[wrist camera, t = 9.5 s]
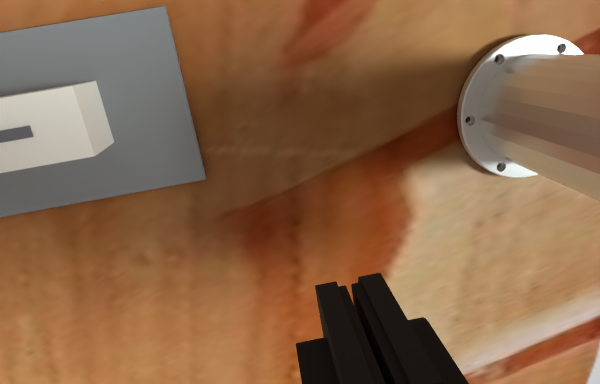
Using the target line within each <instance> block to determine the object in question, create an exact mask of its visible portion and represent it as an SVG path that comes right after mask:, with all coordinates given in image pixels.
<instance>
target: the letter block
mask: <svg viewBox="0 0 600 384" xmlns="http://www.w3.org/2000/svg"><path fill="white" fill-rule="evenodd" d="M113 143H114V140H113V136H112V133H111V130H110V126H109V123H108V120H107V116H106V113H105V110H104V106H103V103H102V99H101V96H100V93H99V89H98V86H97V83H96V81H91V82H85V83H79V84H74V85H68V86H62V87H56V88H50V89H44V90H38V91H33V92H27V93H21V94H15V95H9V96H3V97H0V173H5V172H10V171H16V170H21V169H27V168H32V167H38V166H44V165H49V164H55V163H60V162H66V161H72V160H77V159H83V158H88V157H94V156H96V155H97V154H99V153H100V152H102V151H103V150H104V149H106V148H107V147H109V146H110V145H111V144H113Z"/></svg>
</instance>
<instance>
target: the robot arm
mask: <svg viewBox="0 0 600 384" xmlns="http://www.w3.org/2000/svg"><path fill="white" fill-rule="evenodd" d="M495 56H496V61H494V59H495ZM467 117H468V120H467V121H466V122H465V120H466V118H467ZM457 126H458V131H459V136H460V139H461V141H462V144H463V146H464V148H465V150H466V151H467V153H468V154H469V155H470V157H471V158H472V159H473V160H474V161H475V162H476V163H477V164H478V165H480V166H481V167H483V168H485V169H486V170H488V171H490V172H492V173H494V174H496V175H499V176H504V177H509V178H526V177H531V176H536V175H539V174H540V175H542V176H544V177H547V178H549V179H551V180H554V181H556V182H558V183H560V184H563V185H565V186H567V187H569V188H572V189H574V190H576V191H578V192H581V193H583V194H585V195H587V196H590V197H592V198H594V199H596V200H599V201H600V55H597V54H584V53H583V52H582V51H581V50H580V49H579V48H578V47H577V46H576V45H574V44H573V43H571V42H570V41H568V40H566V39H563V38H561V37H558V36H555V35H548V34H529V35H523V36H518V37H515V38H513V39H510V40H507V41H505V42H503V43H501V44H500V45H498V46H496V47H495V48H493V49H492V50H491V51H489V52H488V53H487V54H486V55H485V56H484V57H483V58H482V59H481V60H480V61H479V62H478V63H477V65H476V66H475V67H474V68H473V70H472V71H471V73H470V74H469V76H468V78H467V80H466V81H465V83H464V86H463V89H462V91H461V94H460V97H459V103H458V108H457ZM497 165H498V166H497ZM315 288H316V295H317V301H318V307H319V313H320V318H321V324H322V330H323V336H324V338H320V339H315V340H310V341H305V342H300V343H296V348H297V355H298V361H299V367H300V374H301V380H302V384H469V383H468V382H467V380H466V379H465V377H464V376H463V374H462V373H461V371H460V370H459V368H458V367H457V365H456V363H455V362H454V360H453V359H452V357H451V356H450V354H449V353H448V351H447V350H446V348H445V347H444V345H443V344H442V342H441V341H440V339H439V337H438V336H437V334H436V333H435V331H434V330H433V328H432V327H431V325H430V324H429V322H428V321H427V320H426V318H423V317H422V318H417V319H412V320H407V318H406V316H405V315H404V313H403V311H402V309H401V308H400V306H399V304H398V303H397V301H396V299H395V297H394V296H393V294H392V292H391V291H390V289H389V287H388V285H387V284H386V282H385V280H384V279H383V277H382V275H381V274H380V273H376V274H371V275H366V276H361V277H359V278H358V283H355V284H352V294H353V301H354V305H353V302H352V300H351V297H350V295H349V292H348V290H347V287H346V286H340V287H338V285H337V282H331V283H326V284H321V285H316V286H315Z"/></svg>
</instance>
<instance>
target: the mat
mask: <svg viewBox="0 0 600 384" xmlns="http://www.w3.org/2000/svg"><path fill="white" fill-rule="evenodd" d="M91 81H96V83H97V86H98V89H99V93H100V96H101V99H102V103H103V106H104V110H105V113H106V116H107V120H108V123H109V126H110V130H111V133H112V136H113V140H114V143H113V144H111V145H110V146H109V147H107V148H106V149H104V150H103V151H102V152H100V153H99V154H97V155H96V156H94V157H88V158H83V159H77V160H72V161H66V162H60V163H55V164H49V165H44V166H38V167H32V168H27V169H21V170H16V171H10V172H5V173H0V217H5V216H10V215H16V214H21V213H27V212H32V211H38V210H43V209H48V208H54V207H59V206H65V205H70V204H76V203H81V202H86V201H92V200H97V199H103V198H108V197H114V196H119V195H124V194H130V193H135V192H141V191H146V190H152V189H157V188H162V187H168V186H173V185H179V184H184V183H190V182H195V181H200V180H206V174H205V170H204V166H203V161H202V157H201V153H200V149H199V144H198V140H197V136H196V132H195V128H194V123H193V119H192V115H191V111H190V107H189V102H188V98H187V94H186V90H185V85H184V81H183V77H182V73H181V69H180V64H179V60H178V56H177V52H176V47H175V43H174V39H173V35H172V31H171V26H170V22H169V18H168V14H167V10H166V7H165V6H162V7H156V8H150V9H144V10H138V11H132V12H126V13H120V14H113V15H107V16H101V17H95V18H89V19H83V20H77V21H71V22H64V23H58V24H52V25H46V26H40V27H34V28H28V29H21V30H15V31H9V32H3V33H0V97H3V96H9V95H15V94H21V93H27V92H33V91H38V90H44V89H50V88H56V87H62V86H68V85H74V84H79V83H85V82H91Z"/></svg>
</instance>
